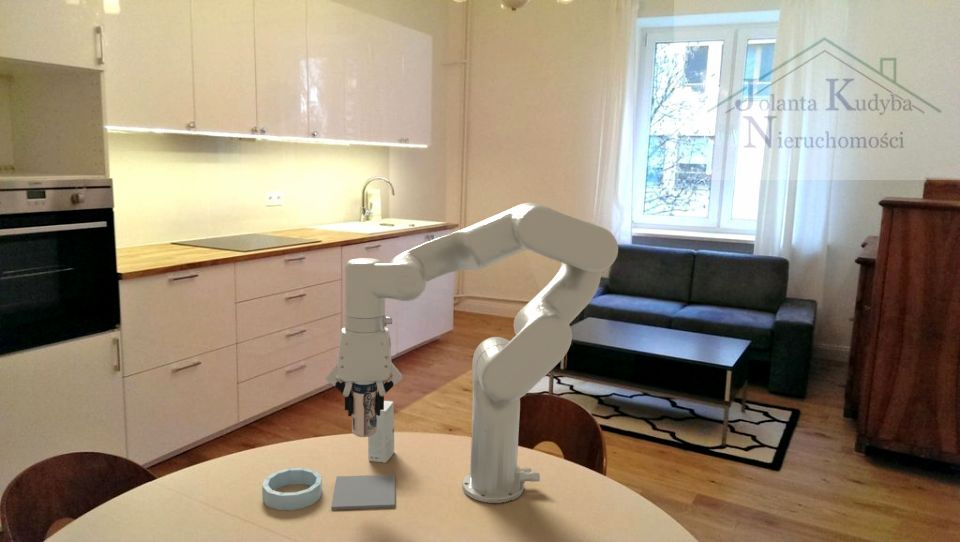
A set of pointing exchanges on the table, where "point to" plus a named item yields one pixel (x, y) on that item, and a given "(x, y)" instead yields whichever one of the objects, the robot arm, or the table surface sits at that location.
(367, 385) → the beer can
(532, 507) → the table surface
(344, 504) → the mat
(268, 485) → the light blue ring
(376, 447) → the skincare box
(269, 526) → the table surface
